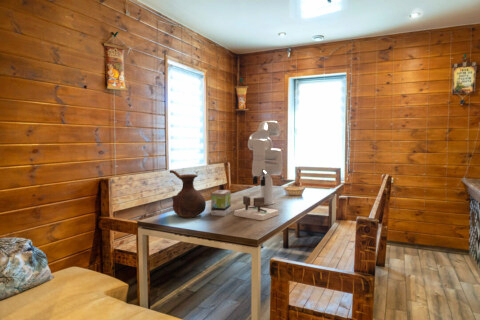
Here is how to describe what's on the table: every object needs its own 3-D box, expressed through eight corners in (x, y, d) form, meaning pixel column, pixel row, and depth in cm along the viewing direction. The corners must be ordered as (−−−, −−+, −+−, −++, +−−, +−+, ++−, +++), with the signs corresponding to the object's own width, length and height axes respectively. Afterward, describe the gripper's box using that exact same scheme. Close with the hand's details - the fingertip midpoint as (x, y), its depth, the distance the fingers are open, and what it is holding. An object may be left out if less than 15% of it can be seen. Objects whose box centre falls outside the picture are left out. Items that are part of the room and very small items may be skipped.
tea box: (225, 216, 204) (225, 193, 203) (210, 215, 206) (210, 193, 205) (231, 211, 219) (230, 189, 218) (217, 210, 221) (216, 189, 220)
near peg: (253, 210, 204) (253, 198, 204) (262, 209, 208) (262, 197, 207) (261, 213, 197) (261, 200, 196) (270, 212, 200) (270, 199, 200)
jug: (187, 210, 221) (186, 167, 219) (212, 214, 210) (211, 169, 208) (164, 217, 202) (164, 170, 200) (191, 221, 191) (190, 172, 189)
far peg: (247, 210, 205) (247, 197, 205) (243, 208, 212) (243, 196, 211) (259, 209, 209) (259, 197, 208) (255, 207, 215) (255, 195, 214)
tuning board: (251, 210, 221) (251, 205, 221) (278, 214, 207) (278, 209, 207) (234, 215, 206) (234, 210, 206) (262, 220, 192) (262, 215, 192)
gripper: (247, 157, 209) (247, 183, 210) (260, 159, 194) (260, 187, 195) (257, 157, 212) (257, 182, 214) (271, 158, 197) (271, 186, 198)
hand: (259, 184), depth 204 cm, fingers open, 9 cm apart
